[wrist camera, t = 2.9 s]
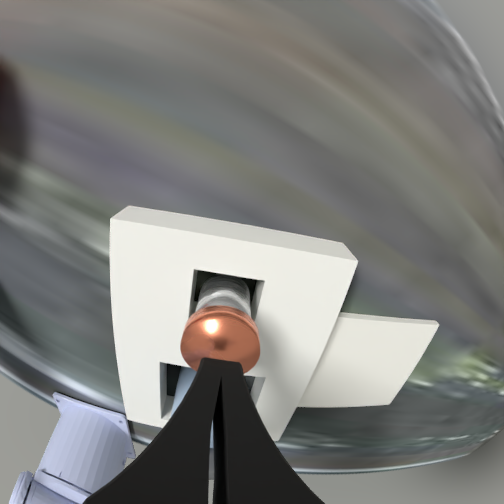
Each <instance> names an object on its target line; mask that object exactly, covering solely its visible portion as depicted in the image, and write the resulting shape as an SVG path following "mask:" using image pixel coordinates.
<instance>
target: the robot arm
mask: <svg viewBox="0 0 504 504" xmlns="http://www.w3.org/2000/svg"><path fill="white" fill-rule="evenodd" d="M53 397H54V400H55V402H56V404H57V406H58V409H59V411H60V413H61V417H60V419H59V421H58V423H57V425H56V427H55V430H54V432H53V434H52V436H51V439H50V441H49V443H48V445H47V448H46V450H45V452H44V455H43V457H42V460H41V462H40V465H39V467H38V469H37V470H36V472H35V474H34V476H33V477H32V475H33V474H32V473H31V472H29V471H26V472H21V473H20V475H19V477H18V480H17V482H16V485H15V488H14V490H13V493H12V496H11V498H10V501H9V504H208V484H209V457H210V438H211V428H212V421H213V451H214V490H213V504H325V503H324V502H323V501H321V499H319V498H318V497H317V496H316V495H315V494H314V493H313V492H312V491H311V490H310V489H309V487H308V486H307V485H306V484H305V483H304V482H303V481H302V480H301V478H300V477H299V476H298V475H297V474H296V473H295V471H294V470H293V469H292V468H291V466H290V465H289V464H288V462H287V461H286V460H285V458H284V457H283V455H282V454H281V452H280V451H279V449H278V448H277V446H276V445H275V443H274V441H273V440H272V438H271V436H270V435H269V433H268V431H267V429H266V427H265V425H264V424H263V422H262V420H261V417H260V415H259V413H258V411H257V409H256V406H255V404H254V402H253V400H252V397H251V394H250V392H249V389H248V386H247V383H246V380H245V377H244V373H243V369H242V365H241V364H240V362H234V361H227V360H220V359H213V358H207V357H204V358H202V359H201V361H200V365H199V367H198V370H197V373H196V375H195V377H194V379H193V381H192V383H191V385H190V387H189V389H188V391H187V393H186V394H185V396H184V398H183V400H182V401H181V403H180V404H179V406H178V407H177V409H176V410H175V412H174V413H173V415H172V416H171V418H170V419H169V421H168V422H167V423H166V425H165V426H164V427H163V429H162V430H161V431H160V432H159V434H158V435H157V436H156V437H155V438H154V440H153V441H152V442H151V443H150V444H149V445H148V446H147V447H146V449H145V450H144V451H143V452H142V453H141V454H140V455H139V456H138V457H137V458H136V459H135V457H136V454H135V450H134V447H133V443H132V439H131V434H130V430H129V426H128V421H127V417H126V416H125V415H123V414H120V413H117V412H113V411H110V410H106V409H103V408H100V407H97V406H93V405H90V404H87V403H84V402H82V401H79V400H76V399H73V398H70V397H68V396H65V395H62V394H60V393H57V392H54V394H53ZM127 457H128V458H132V459H135V460H134V461H133V462H132V463H131V464H130V465H128V466H127V467H126V468H125V469H124V466H125V462H126V458H127Z"/></svg>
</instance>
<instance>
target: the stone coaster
mask: <svg viewBox="0 0 504 504" xmlns="http://www.w3.org/2000/svg"><path fill="white" fill-rule="evenodd" d="M438 326H439V324H438V323H437V322H436V321H434V320H420V319H407V318H395V317H383V316H373V315H363V314H353V313H344V312H339V314H338V317H337V319H336V322H335V324H334V327H333V329H332V332H331V334H330V336H329V339H328V341H327V343H326V346H325V348H324V350H323V352H322V355H321V357H320V359H319V361H318V364H317V366H316V368H315V370H314V372H313V374H312V377H311V379H310V381H309V383H308V385H307V387H306V389H305V391H304V393H303V395H302V397H301V399H300V401H299V403H298V405H297V407H356V406H374V405H387V404H390V403H391V401H392V400H393V399H394V397H395V396H396V394H397V393H398V392H399V390H400V389H401V387H402V386H403V384H404V383H405V381H406V380H407V378H408V377H409V375H410V374H411V372H412V371H413V369H414V368H415V366H416V364H417V363H418V361H419V360H420V358H421V356H422V355H423V353H424V351H425V350H426V348H427V346H428V345H429V343H430V341H431V339H432V337H433V336H434V334H435V332H436V330H437V328H438Z"/></svg>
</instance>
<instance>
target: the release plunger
mask: <svg viewBox="0 0 504 504" xmlns="http://www.w3.org/2000/svg"><path fill="white" fill-rule="evenodd" d="M180 350H181V354H182V357H183V359H184V360H185V362H186V363H187V364H188V365H189V366H190V367H191V368H192V369H193V370H195V371H196V372H197V370H198V367H199V365H200V361H201V359H202V358H204V357H207V358H213V359H220V360H227V361H234V362H240V364H241V365H242V369H243V373H244V374H245V373H247V372H248V371H250V370H251V369H252V368H253V367H254V366H255V365H256V363H257V362H258V360H259V357H260V340H259V331H258V328H257V325H256V323H255V322H254V321H253V319H252V318H251V307H250V292H249V288H248V286H247V285H246V283H245V282H244V281H243V280H242V279H240V278H239V277H237V276H232V275H226V274H217V275H214V276H212V277H210V278H209V279H207V280H206V281H205V282H204V284H203V285H202V288H201V291H200V295H199V299H198V303H197V307H196V312H195V313H194V314H192V315H191V316H190V318H189V319H188V320H187V322H186V324H185V327H184V331H183V335H182V339H181V344H180Z"/></svg>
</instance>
